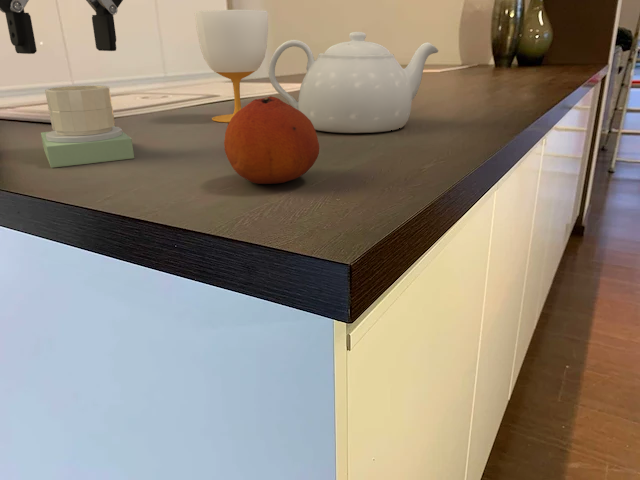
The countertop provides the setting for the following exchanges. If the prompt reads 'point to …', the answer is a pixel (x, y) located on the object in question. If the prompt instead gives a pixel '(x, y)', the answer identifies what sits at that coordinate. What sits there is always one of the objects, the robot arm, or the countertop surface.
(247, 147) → the fruit
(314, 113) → the teapot
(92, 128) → the bowl
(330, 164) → the countertop surface
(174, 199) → the countertop surface
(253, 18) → the cup
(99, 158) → the scale
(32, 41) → the robot arm
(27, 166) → the countertop surface
